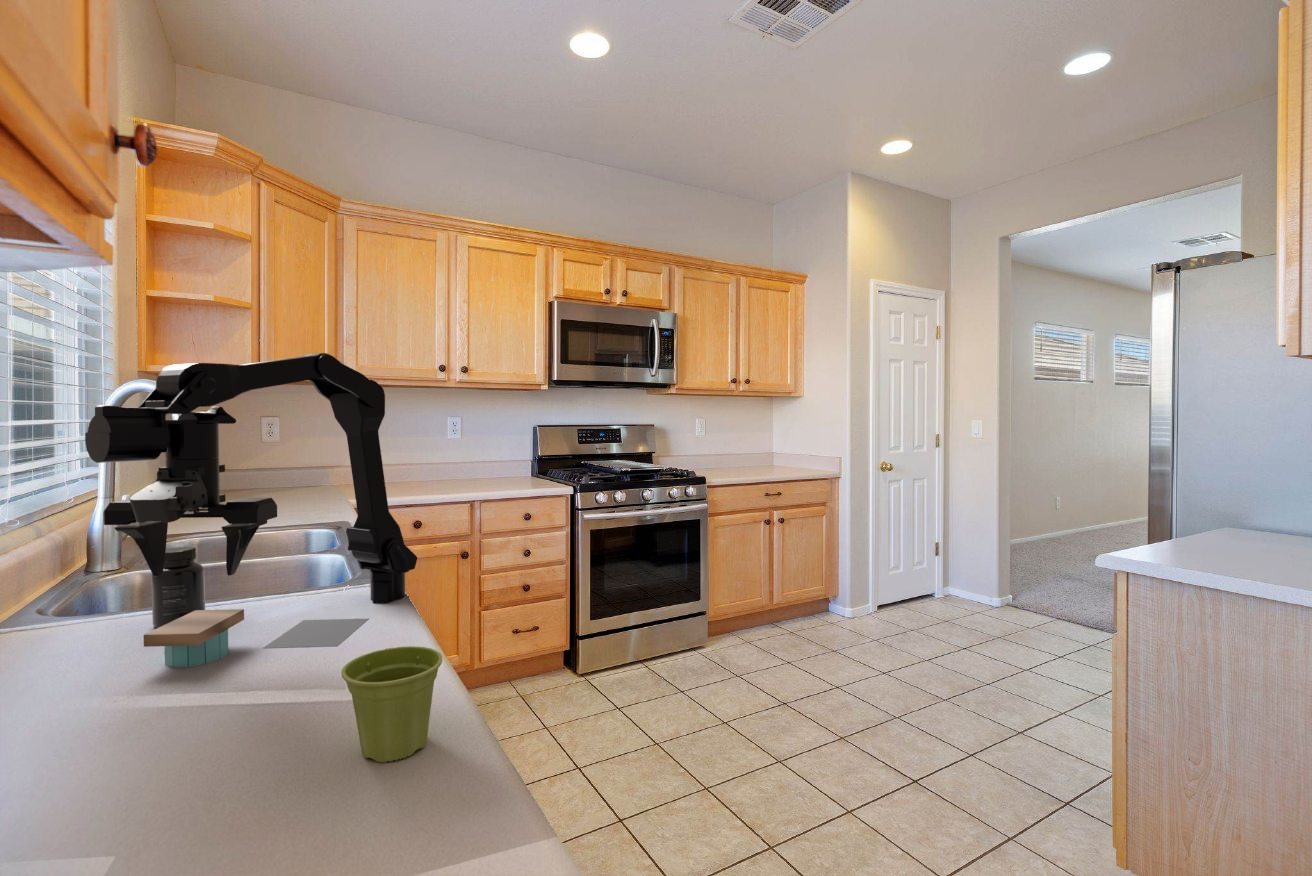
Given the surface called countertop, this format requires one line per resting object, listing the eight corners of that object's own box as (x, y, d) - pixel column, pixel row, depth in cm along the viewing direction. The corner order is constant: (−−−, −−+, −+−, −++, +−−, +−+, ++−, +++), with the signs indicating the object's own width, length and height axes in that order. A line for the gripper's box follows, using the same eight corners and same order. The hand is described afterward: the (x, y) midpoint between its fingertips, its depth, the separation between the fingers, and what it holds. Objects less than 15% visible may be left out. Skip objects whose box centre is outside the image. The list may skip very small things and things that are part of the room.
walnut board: (195, 620, 88) (195, 610, 88) (244, 619, 89) (243, 609, 89) (143, 646, 78) (143, 634, 78) (198, 645, 79) (198, 633, 79)
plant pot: (339, 783, 57) (338, 689, 57) (345, 734, 66) (344, 653, 65) (447, 761, 61) (446, 673, 61) (439, 718, 69) (438, 640, 69)
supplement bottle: (216, 616, 104) (214, 545, 104) (181, 630, 97) (179, 554, 97) (178, 615, 105) (176, 544, 104) (140, 629, 98) (138, 553, 98)
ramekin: (187, 656, 87) (186, 624, 87) (239, 655, 88) (238, 623, 87) (152, 676, 80) (151, 642, 80) (208, 674, 81) (208, 640, 81)
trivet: (303, 627, 99) (303, 620, 99) (369, 625, 100) (369, 618, 100) (262, 656, 87) (262, 648, 87) (337, 654, 88) (337, 646, 88)
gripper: (64, 462, 74) (67, 593, 74) (231, 462, 76) (233, 590, 76) (134, 457, 85) (137, 571, 86) (278, 457, 87) (280, 568, 87)
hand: (194, 575), depth 83 cm, fingers open, 9 cm apart
